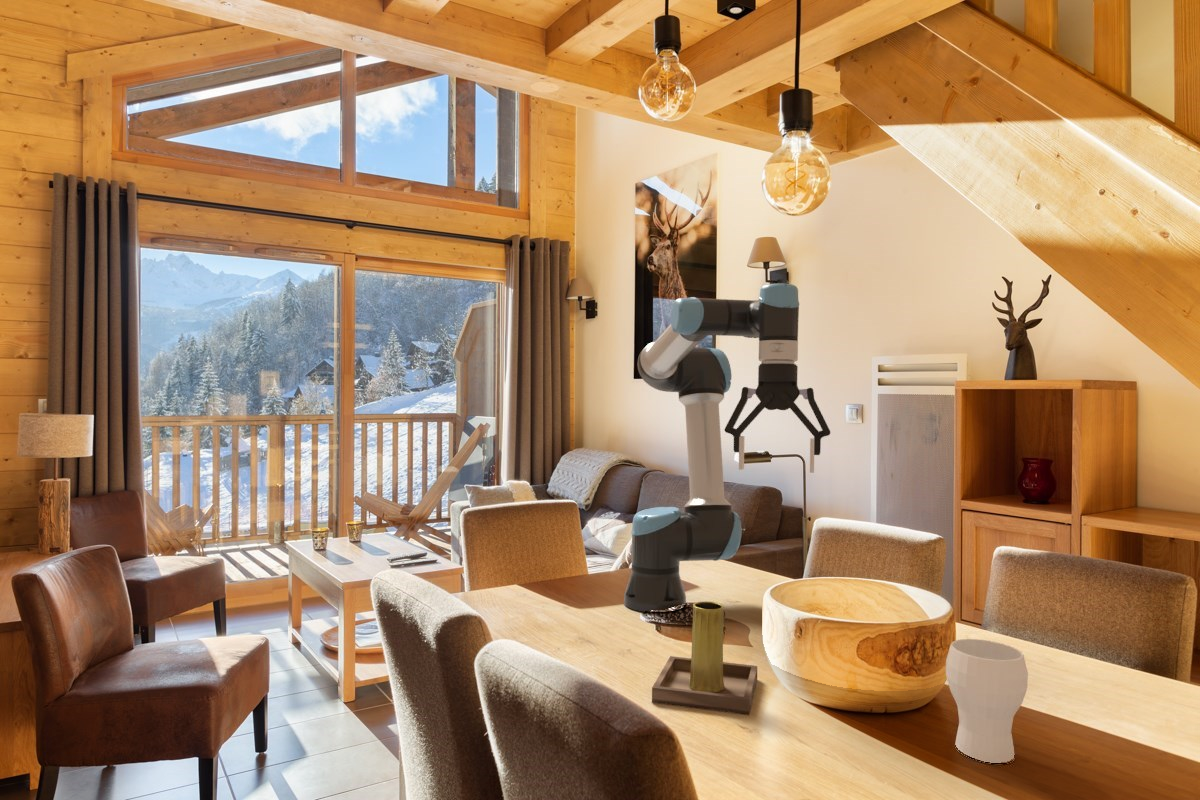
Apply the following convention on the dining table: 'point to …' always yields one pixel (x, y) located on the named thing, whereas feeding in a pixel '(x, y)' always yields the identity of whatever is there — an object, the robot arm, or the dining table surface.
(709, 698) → the walnut tray
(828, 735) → the dining table surface
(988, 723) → the cup
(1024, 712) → the dining table surface
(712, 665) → the vase
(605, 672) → the dining table surface
